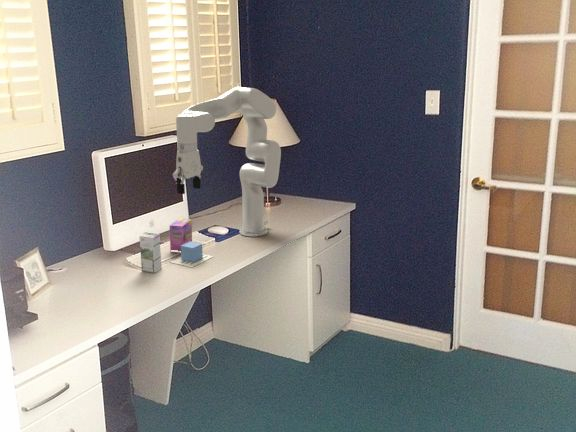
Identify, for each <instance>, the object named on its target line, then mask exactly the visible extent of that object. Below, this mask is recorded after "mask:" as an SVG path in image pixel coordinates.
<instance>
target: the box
mask: <svg viewBox="0 0 576 432" xmlns="http://www.w3.org/2000/svg"><path fill="white" fill-rule="evenodd" d="M192 224H193V221H192V219H191V218H181V217H180V218H178V219H176V220H175V221H174V222H172V223H171V224H170V225H169V245H170V247H169V248H170V249H169V250H170V251H171V250H178V251H181V245H183V244H186V243H188V242H190V241H191V242H193V230H192V229H193V226H192Z"/></svg>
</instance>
